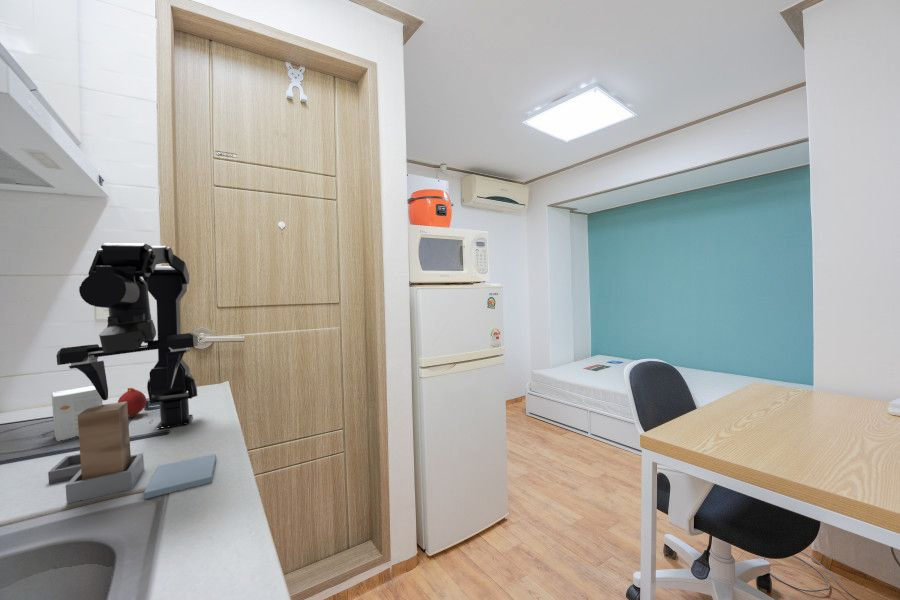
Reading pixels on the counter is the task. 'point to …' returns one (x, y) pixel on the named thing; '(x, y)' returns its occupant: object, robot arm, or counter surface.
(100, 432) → the walnut block
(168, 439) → the counter surface
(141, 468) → the sleeve
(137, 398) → the onion
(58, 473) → the tray
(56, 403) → the small box
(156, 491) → the pad
